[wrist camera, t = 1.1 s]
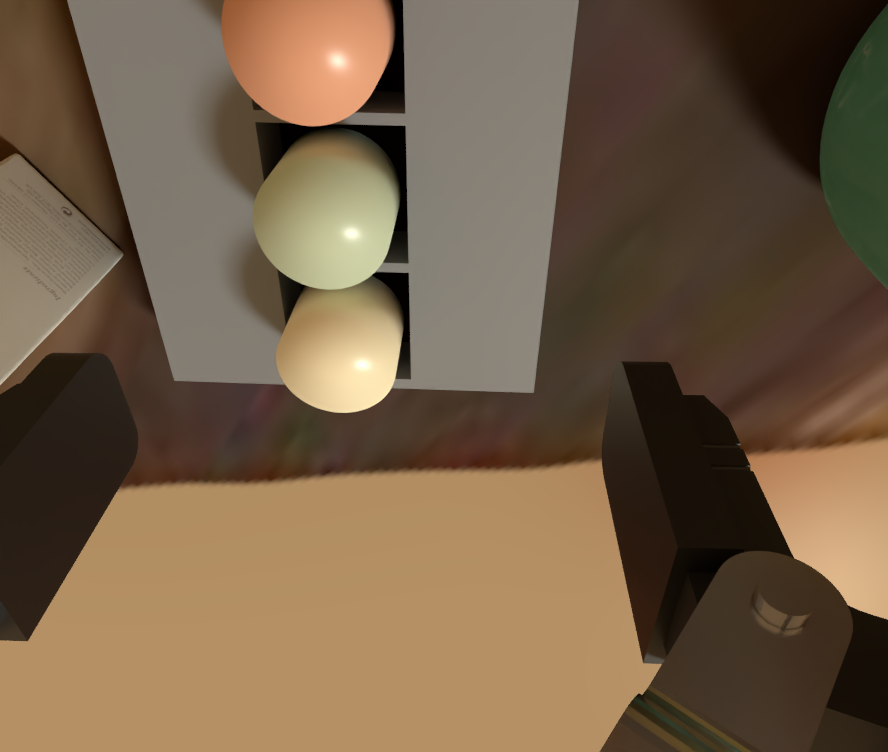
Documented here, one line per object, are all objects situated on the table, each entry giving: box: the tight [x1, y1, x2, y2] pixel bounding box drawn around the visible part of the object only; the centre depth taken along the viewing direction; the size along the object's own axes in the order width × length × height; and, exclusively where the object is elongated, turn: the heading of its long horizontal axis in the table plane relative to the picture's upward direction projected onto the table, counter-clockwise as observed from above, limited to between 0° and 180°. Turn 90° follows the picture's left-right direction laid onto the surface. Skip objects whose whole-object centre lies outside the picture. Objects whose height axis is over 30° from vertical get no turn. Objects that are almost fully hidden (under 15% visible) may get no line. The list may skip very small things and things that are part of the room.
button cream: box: [276, 276, 404, 413], centre depth 27 cm, size 5×5×4 cm
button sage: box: [253, 127, 401, 290], centre depth 24 cm, size 5×5×4 cm
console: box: [67, 0, 579, 393], centre depth 26 cm, size 17×16×3 cm
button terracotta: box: [221, 0, 396, 126], centre depth 20 cm, size 5×5×4 cm
